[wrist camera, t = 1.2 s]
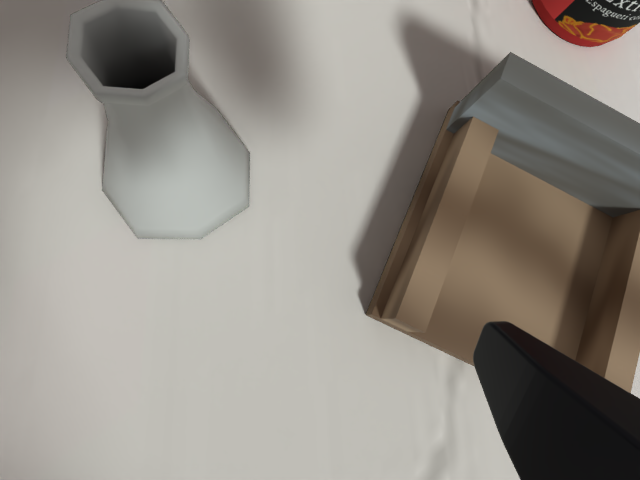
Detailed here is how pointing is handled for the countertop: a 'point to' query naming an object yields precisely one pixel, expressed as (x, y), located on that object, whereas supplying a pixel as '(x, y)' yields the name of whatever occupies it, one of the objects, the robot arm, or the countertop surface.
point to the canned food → (589, 19)
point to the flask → (157, 123)
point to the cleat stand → (524, 226)
